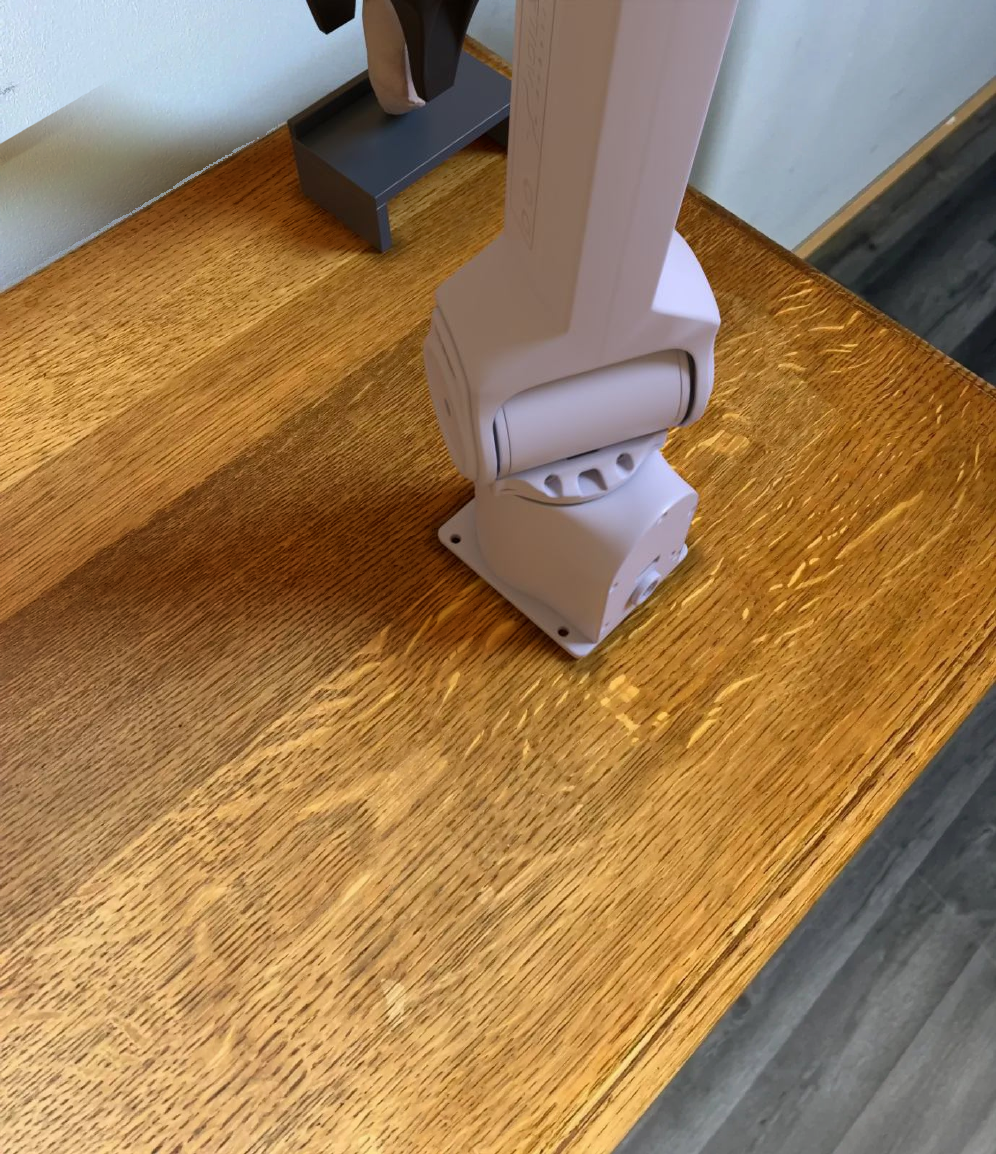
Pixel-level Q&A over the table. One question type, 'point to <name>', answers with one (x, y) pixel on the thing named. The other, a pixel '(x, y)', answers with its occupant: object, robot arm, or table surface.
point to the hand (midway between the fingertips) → (385, 56)
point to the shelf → (390, 143)
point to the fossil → (388, 58)
